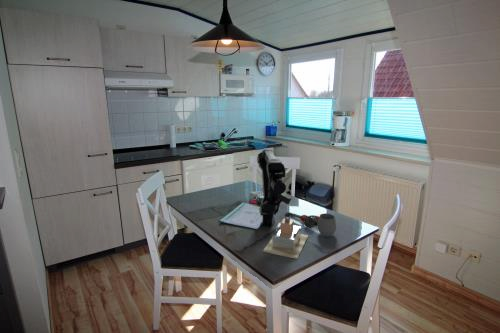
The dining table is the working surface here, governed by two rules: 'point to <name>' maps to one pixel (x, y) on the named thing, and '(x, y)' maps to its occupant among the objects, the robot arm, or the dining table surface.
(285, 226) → the brown block with knob
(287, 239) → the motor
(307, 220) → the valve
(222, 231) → the dining table surface
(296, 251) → the mounting board
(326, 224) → the cup
